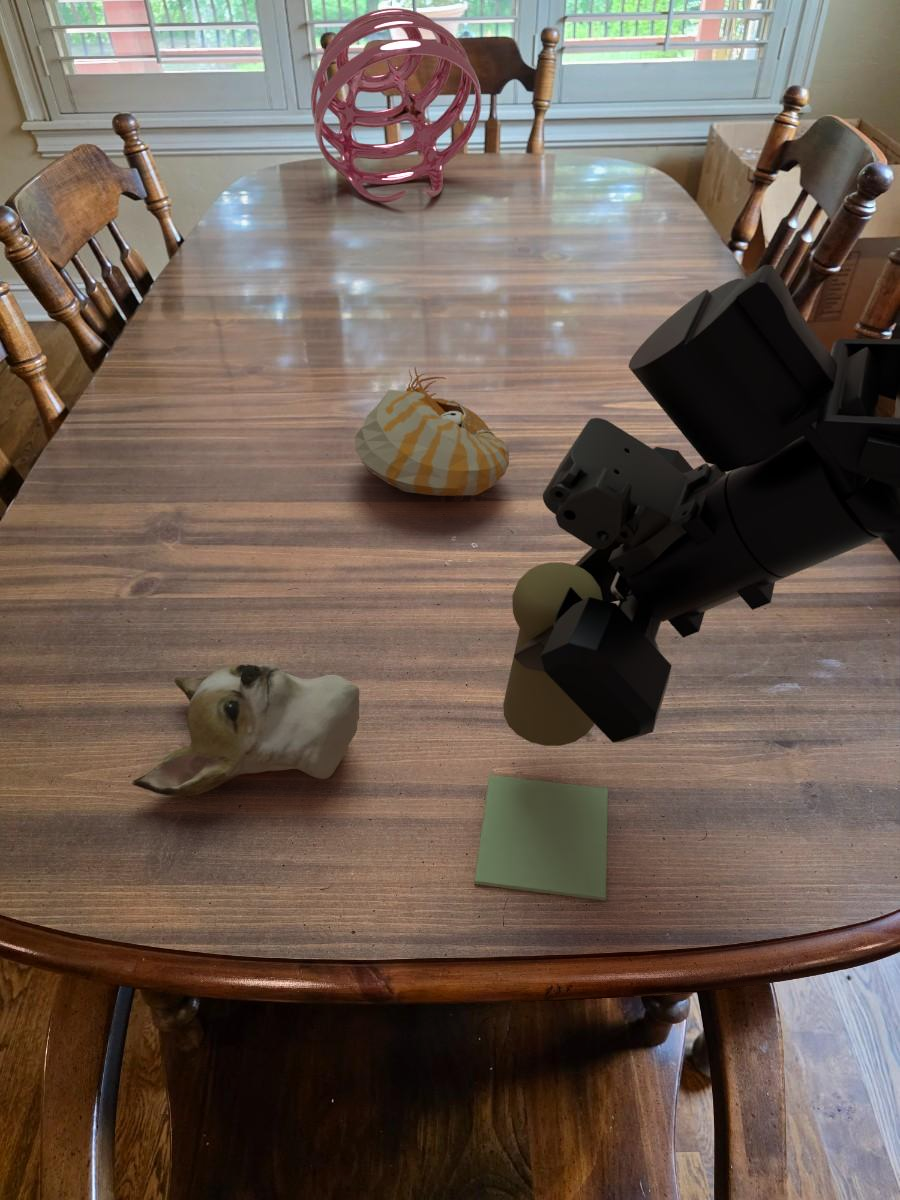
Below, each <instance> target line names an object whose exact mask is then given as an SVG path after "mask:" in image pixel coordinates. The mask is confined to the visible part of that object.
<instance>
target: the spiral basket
mask: <svg viewBox="0 0 900 1200" xmlns="http://www.w3.org/2000/svg"><path fill="white" fill-rule="evenodd" d="M391 29H401V30H402V31H404V33H405V35H406V37H407V38H404V39H403V38H402V39H397V40H396V39H395V40H391V41H387V42H384V43H381V44H378V45H377V44H376V45H375V46H372V47H370V48H368V49H366V50H364V51H362V52H360V53H358V54H357V55H355V56H354V57H352V58H351V59H349V50H350V47H351V46H352V45H354V44H355V43H357V42H358V41H360V40H362V39H365V38H367V37H368V36H370V35H373V34H376V33H379V32H382V31H386V30H391ZM420 29H422V30H426V31H429V32H430V31H431V33H432V35H433V36H434V38H435V40H430V39H425V38H423V35H422V33H421V30H420ZM450 43H451V44H452V45H453V46H454V47H455V49H454V48H453V47H451V45H450ZM423 56H428V57H435V58H437V64H436V66H435V70H434V72H433V74H432V76H431V77H430V79H429V81H428V82H427V83H426V84H425V86H424V87H423V88H422V89H421V90H420V91H419V92H418V93H416V94H414V93H412V91H410V89H409V87H408V84H407V82H408V80H409V79H410V78H411V77H412V76H413V75H414V74H415V72H416V71H417V70H418V68H419V66H420V63H421V62H422V59H423ZM399 57H405V58H404V59H403V60H402V62H401V63H400V64H399V65H398V66H395V64H393V63H392V61H391V60H390V59H394V58H395V59H396V58H399ZM334 61H335V67H336V70H337V71H336V72H335V73H334V74H333V75H332V76H331V78H330V79H328V74H327V73H328V72H327V71H328V69H329V67H330V66H331V64H332V63H333V62H334ZM384 61H385V63H386V65H387V68H388V72H387V73H385V74H381V75H366V74H365V72H366V69H369V68H370V67H372V66H375V65H377V64H379V63H382V62H384ZM452 64H454V65H455V66H457V67H458V68H460V69H461V79H460V83H459V86H458V90H457V92H456V94H455V96H454V98H453V100H452V101H451V103H450V105H449V106H448V107H447V109H446V110H445V111H444V112H443V113H442V115H440V117H438V118H437V119H436V120H435V121H434V122H432V123H428V122H427V121H426V119H425V117H424V113H425V110H426V109H427V107H429V106H430V105H431V104H432V103H433V102H434V101H435V100H436V99H437V98H438V96H439V95H440V94H441V92H442V90H443V89H444V87H445V85H446V84H447V81H448V79H449V76H450V72H451V68H452ZM311 85H312V86H311V91H310V109H311V114H312V119H313V129H314V135H315V139H316V143H317V145H318V148H319V150H320V152H321V154H322V155H323V157H324V159H325V160H326V161H327V163H328V164H329V166H331V167H332V168H333V169H334V170H336V171H337V172H338V173H339V174H341V175H342V176H343V177H345V178H346V180H348V182H349V183H350V184H351V185H352V187H353V188H354V190H356V192H357V193H358V194H360V195H361V196H362V197H364V198H365V199H367V200H369V201H371V202H373V203H374V202H375V203H381V204H388V203H392V202H396V201H398V200H400V199H402V198H403V197H404V196H406V195H407V190H406V189H405V190H401V191H398V192H396V193H394V194H390V195H384V196H381V195H375V194H372V193H371V192H369V191H368V190H367V189H366V188H365V186H364V185H363V184H370V185H377V186H378V185H381V186H382V185H383V186H384V185H395V184H396V185H397V184H402V183H406V182H410V181H413V180H416V179H420V178H422V177H428V178H429V180H430V184H431V186H430V187H431V189H430V188H428V187H424V189H423V190H424V193H425V194H426V195H427V196H428V197H430V198H435V197H437V196H438V195H439V194H440V193H442V190H443V186H444V175H443V174H444V173H443V169H444V168H445V166H446V165H447V163H449V162H450V161H451V160H452V159H453V158H454V157H455V156H456V155H458V154H459V153H460V152H461V150H462V149H463V148H464V147H465V146H466V145H467V143H468V142H469V141H470V139H471V137H472V136H473V135H474V132H475V130H476V128H477V125H478V123H479V120H480V116H481V112H482V91H481V90H482V89H481V85H480V82H479V78H478V76H477V73H476V71H475V69H474V68H473V66H472V65H471V62H470V59H469V57H468V54H467V52H466V50H465V48H464V47H463V45H462V44H461V42H460V41H459V40H458V39H457V37H456V36H455V35H454V34H453V33H452V32H450V31H449V30H448V29H447V28H445V27H444V26H442V25H440V24H438V23H437V22H435V21H434V20H432V19H431V18H430V17H428V16H426V15H424V14H422V13H420V12H418V11H415V10H411V9H407V8H397V7H396V8H395V7H393V8H381V9H377V10H373V11H370V12H367V13H365V14H363V15H360V16H358V17H356V18H354V19H353V20H351V21H350V22H349V23H347V24H346V25H345V26H343V27H342V28H341V29H340V30H339V31H338V32H336V33H335V35H334V36H333V38H332V39H331V40H330V42H328V44H327V46H326V48H325V50H324V51H323V54H322V57H321V59H320V63H319V66H318V68H317V70H316V72H315V76H314V77H313V81H312V84H311ZM345 85H347V87H348V91H347V95H346V98H345V99H344V100H341V99H339V98H338V97H337V94H338V92H339V91H341V89H342V88H343V87H344V86H345ZM472 85H473V89H474V105H473V109H472V112H471V114H470V117H469V119H468V121H467V123H466V125H465V126H464V128H463V130H462V131H461V132H460V134H459V135H457V137H456V138H455V140H453V142H451V143H450V144H449V145H448V146H447V147H446V148H445V149H442V150H438V148H437V141H438V139H439V138H440V137H441V136H443V135H444V134H445V132H447V131H448V130H449V129H450V128H451V127H452V126H453V125H454V123H456V121H457V119H458V118H459V117H460V116H461V114H462V112H463V110H464V108H465V106H466V105H467V102H468V99H469V96H470V93H471V89H472ZM318 90H319V91H318ZM389 90H397V92H398V93H399V95H400V97H401V98H400V99H401V102H400V103H399V105H397V106H394V107H391V108H386V109H380V110H366V109H365V110H364V109H360V108H358V107H357V105H356V101H357V96H358V94H359V93H361V92H363V93H369V94H374V93H383V92H387V91H389ZM318 92H319V94H320V95H319V97H318ZM317 97H318V99H317ZM327 109H328V110H329V111H330V112H331V113H332V114H333V115H335V116H336V118H337V119H338V121H339V132H338V133H337V132H335V131H334V130H332V128H330V127H329V126H328V125H327V123H326V122H325V120H324V119H325V115H326V112H327ZM402 122H409V123H410V124H411V125H412V128H413V133H412V134H411V135H410V136H409V137H407V138H404V139H401V140H397V141H393V142H388V143H387V142H386V143H375V144H373V143H372V144H371V143H370V144H369V143H363V142H358V141H356V140H355V139H354V137H353V135H352V134H353V133H352V132H353V129H354V127H362V128H383V127H388V126H393V125H397V124H399V123H402ZM323 139H324V140H325V141H326V142H327V143H328V144H329V145H331V146H332V147H333V148H334V149H335V150H336V151H337V152H338V153H339V156H340V160H341V161H339V160H338V159H336V158H335V157H334V156H333V155H332V154H331V152H329V151H328V149H327V147H326V146H325V143H324V140H323ZM415 152H420V153H421V154H422V156H423V159H422V161H421V162H420V163H419V164H416V165H414V166H411V167H409V168H405V169H404V168H403V169H401V170H395V171H389V172H373V171H371V172H370V171H364V170H361V169H359V168H358V167H357V166H356V164H355V159H357V158H358V159H359V158H360V159H367V160H386V159H393V158H398V157H401V156H402V157H403V156H405V155H407V154H411V153H415Z"/></svg>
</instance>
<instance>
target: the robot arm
mask: <svg viewBox="0 0 900 1200" xmlns="http://www.w3.org/2000/svg"><path fill="white" fill-rule="evenodd" d="M793 300H794V299H793V298H792V294H791V293H790V289H789V288H788V286H787V284H786V282H785V281H784V280H783V279H782V277H781V275H780V274H779V272H778V271H777V270H776V269H775V267H774V265H772V264H763V265H762V266H760V267H759V268H758V269H757V270H755V271H754V272H752V273H750V274H749V275H748V276H747V277H745V278H744V279H743V278H735V279H731V280H729V281H727V282H724V284H721V285H719V286H718V287H716V288H714V289H713V290H711V291H709V290H708V289H705V290H703V291H702V292H700V293H698V294H697V295H696V296H695V297H693V298H692V299H690V300H689V301H688V302H687V303H685V304H684V305H683V306H682V307H680V308H678V310H677V311H675V312H674V313H673V314H672V315H671V316H669V317H668V318H667V319H666V320H665V321H664V322H663V323H662V324H661V325H660V326H658V327H657V328H656V329H655V330H654V331H653V332H652V333H651V334H650V335H649V336H648V337H647V338H646V339H645V340H644V341H643V343H642V344H641V345H640V346H639V347H638V348H637V349H636V351H635V352H634V354H632V357H631V358H630V360H629V363H628V366H627V367H628V368H629V370H630V371H631V372H632V373H633V375H634V376H635V377H636V379H637V380H638V381H639V382H640V384H642V385H643V387H644V388H645V389H646V391H647V392H648V394H650V396H651V397H652V398H653V399H654V401H655V402H656V403H657V404H658V405H659V407H660V408H661V409H662V411H663V412H665V414H666V415H667V417H668V418H669V420H671V421H672V423H673V424H674V425H675V427H676V428H677V429H678V430H679V431H680V433H681V434H682V435H683V436H684V438H685V439H687V441H688V442H689V444H690V445H691V446H692V448H693V449H694V450H695V451H696V452H697V454H698V455H699V456H700V457H701V458H702V459H703V461H704V462H705V463H702V464H700V465H699V466H697V467H695V468H693V466H691V464H690V463H689V462H688V461H687V460H686V458H685V457H684V456H683V454H682V453H681V452H680V451H679V450H676V449H671V448H665V447H660V446H655V447H654V448H652V447H650V446H649V445H647V444H646V443H644V442H642V441H641V440H640V439H638V438H636V437H634V436H633V435H631V434H629V433H628V432H626V430H623V429H622V428H620V427H619V426H617V425H615V424H614V423H612V422H610V421H609V420H607V419H605V418H601V417H593V418H590V419H588V421H587V422H586V424H585V425H584V427H583V428H582V430H581V431H580V433H579V435H578V436H577V438H576V439H575V441H574V442H573V443H572V444H571V447H570V448H569V449H568V451H567V453H566V454H565V456H564V457H563V459H562V460H561V462H560V463H559V465H558V467H557V469H556V470H555V472H554V474H553V475H552V478H551V479H550V481H549V482H548V484H547V486H546V487H545V489H544V490H543V493H542V500H543V503H544V505H545V507H546V508H547V509H548V510H549V511H550V512H551V513H553V514H554V515H555V521H556V523H557V525H558V527H559V528H560V529H561V530H563V531H565V532H566V533H568V534H570V535H571V536H572V537H574V538H576V539H577V540H579V541H581V542H582V543H584V544H586V545H587V546H589V547H590V549H589V550H588V551H587V552H586V553H585V554H584V555H583V556H582V557H580V559H579V560H578V561H577V562H576V563H575V564H574V565H575V566H578V567H580V568H583V569H584V570H586V571H587V572H588V573H589V574H591V575H592V577H593V578H594V579H595V581H596V582H597V584H598V585H599V587H600V589H601V594H602V599H603V600H600V599H596V598H592V597H589V598H586V599H584V600H583V599H582V598H581V597H580V596H579V595H578V594H577V593H576V592H575V591H574V590H573V589H572V587H570V588H569V589H568V591H567V593H566V595H565V598H564V600H563V602H562V604H561V606H560V608H559V610H558V612H557V614H556V617H555V620H554V624H553V625H552V626H550V627H549V628H548V629H546V630H545V631H543V632H542V633H540V634H539V635H537V636H536V637H534V638H533V639H531V640H530V641H529V642H527V643H526V644H525V645H524V646H522V647H521V648H520V649H518V650H517V651H516V652H515V651H514V652H515V654H514V653H513V657H514V658H515V659H516V660H517V661H518V663H519V664H520V665H521V666H522V667H524V668H526V669H531V670H537V671H543V672H546V674H547V675H548V676H549V677H550V678H551V679H552V680H553V681H554V682H555V683H556V684H557V685H558V686H559V687H560V688H561V689H562V690H563V691H564V692H565V693H566V694H567V695H568V696H569V698H570V699H571V700H572V701H573V702H574V703H575V704H576V705H577V706H578V707H579V708H580V709H581V710H582V711H583V712H584V713H585V714H586V715H587V716H588V717H589V718H590V719H591V721H592V722H593V723H594V726H596V727H597V728H598V729H599V730H600V731H601V732H602V733H603V734H604V735H605V737H606V738H608V739H609V740H610V741H611V742H612V744H614V743H624V742H627V741H631V740H634V739H636V738H640V737H643V736H646V735H649V734H651V733H654V730H655V726H656V723H657V721H658V717H659V713H660V711H661V710H660V709H661V708H662V704H663V701H664V698H665V695H666V691H667V688H668V684H669V681H670V675H671V672H672V664H671V663H670V662H669V660H667V659H666V657H665V656H664V655H663V654H662V652H661V649H660V647H659V645H658V643H657V641H656V640H657V636H658V632H659V631H660V630H659V629H660V627H661V624H662V623H664V622H666V621H668V623H669V624H670V625H671V626H672V628H674V629H675V630H676V632H677V633H678V634H679V635H680V636H681V637H682V638H683V639H684V638H687V637H689V636H691V635H693V634H694V635H695V634H697V633H699V632H700V630H701V626H702V624H703V620H704V617H705V613H706V612H707V611H710V610H711V609H714V608H717V607H718V606H721V605H723V604H726V603H729V602H731V601H733V600H735V599H737V598H738V599H739V598H740V597H741V599H743V601H744V602H745V604H747V606H748V607H749V608H750V609H751V610H752V611H753V610H756V609H758V608H761V607H765V606H766V605H769V604H771V603H772V598H773V593H774V588H775V584H776V582H778V581H780V580H784V579H785V578H788V577H790V576H793V575H795V574H797V573H799V572H802V571H804V570H806V569H810V568H812V567H814V566H816V565H818V564H821V563H823V562H826V561H828V560H831V559H833V558H835V557H838V556H840V555H843V554H845V553H847V552H850V551H852V550H854V549H857V548H859V547H862V546H864V545H866V544H869V543H871V542H873V541H876V540H879V539H880V540H881V541H882V542H883V543H884V544H885V546H886V547H887V548H888V549H889V551H890V552H891V553H892V555H893V556H894V557H895V558H896V560H897V561H898V562H899V563H900V338H839V339H837V340H835V342H833V343H832V347H831V351H829V350H828V349H827V348H826V346H825V345H824V344H823V342H822V341H821V339H820V338H819V337H818V336H817V334H816V333H815V331H814V329H813V328H812V326H810V324H809V323H808V322H807V320H806V319H805V317H804V316H803V315H802V313H801V312H800V311H799V309H798V307H797V306H796V304H795V302H794V301H793ZM880 396H882V397H885V398H887V399H890V400H892V401H895V406H894V417H885V416H877V415H878V409H879V408H878V405H879V398H880ZM709 464H710V465H709ZM615 602H618V604H617V603H615Z"/></svg>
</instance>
